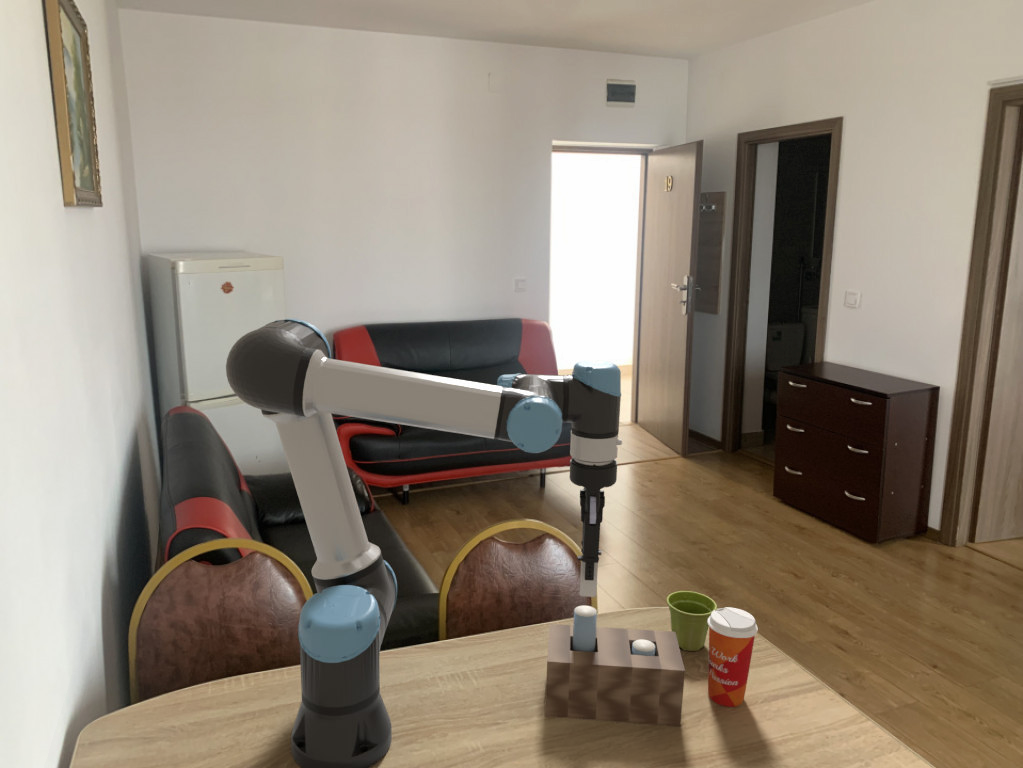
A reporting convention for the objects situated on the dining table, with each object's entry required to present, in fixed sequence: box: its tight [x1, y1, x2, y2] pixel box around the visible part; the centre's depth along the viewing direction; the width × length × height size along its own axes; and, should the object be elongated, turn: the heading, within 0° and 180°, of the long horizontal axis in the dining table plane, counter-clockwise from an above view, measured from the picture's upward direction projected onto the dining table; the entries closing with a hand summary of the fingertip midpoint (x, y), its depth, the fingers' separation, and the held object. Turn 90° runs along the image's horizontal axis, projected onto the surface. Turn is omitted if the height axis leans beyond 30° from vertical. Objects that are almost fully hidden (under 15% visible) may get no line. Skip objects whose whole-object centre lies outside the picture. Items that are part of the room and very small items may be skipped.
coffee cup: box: [707, 606, 759, 708], centre depth 132 cm, size 8×8×15 cm
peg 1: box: [572, 605, 598, 652], centre depth 130 cm, size 4×4×10 cm
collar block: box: [544, 623, 686, 727], centre depth 131 cm, size 22×12×10 cm, turn 86°
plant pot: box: [666, 590, 718, 652], centre depth 150 cm, size 9×9×9 cm
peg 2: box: [632, 639, 655, 656], centre depth 131 cm, size 4×4×10 cm
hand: (588, 594), depth 129 cm, fingers closed
